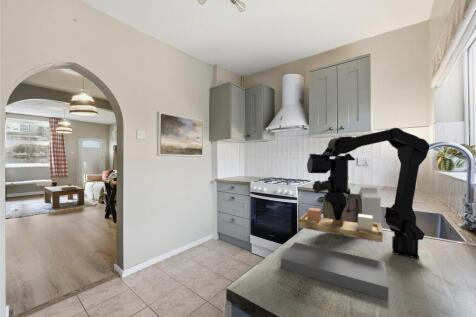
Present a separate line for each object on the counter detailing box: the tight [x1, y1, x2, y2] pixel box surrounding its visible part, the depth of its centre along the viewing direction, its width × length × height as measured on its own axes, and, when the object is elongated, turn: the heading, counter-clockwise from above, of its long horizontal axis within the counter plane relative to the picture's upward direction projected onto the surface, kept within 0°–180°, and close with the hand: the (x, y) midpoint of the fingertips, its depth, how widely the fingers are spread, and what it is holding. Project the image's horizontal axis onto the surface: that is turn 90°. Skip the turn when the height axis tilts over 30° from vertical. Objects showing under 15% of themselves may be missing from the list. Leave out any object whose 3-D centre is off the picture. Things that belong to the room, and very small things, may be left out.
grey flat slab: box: [280, 241, 389, 301], centre depth 62 cm, size 26×14×3 cm, turn 58°
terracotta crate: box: [307, 207, 322, 223], centre depth 78 cm, size 4×4×4 cm
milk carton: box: [357, 186, 382, 223], centre depth 99 cm, size 7×7×19 cm
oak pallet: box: [297, 211, 384, 243], centre depth 74 cm, size 25×10×9 cm, turn 58°
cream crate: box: [358, 214, 373, 230], centre depth 70 cm, size 4×4×4 cm
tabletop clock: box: [322, 192, 362, 239], centre depth 91 cm, size 14×9×25 cm, turn 117°
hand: (338, 218), depth 74 cm, fingers closed on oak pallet, 4 cm apart
